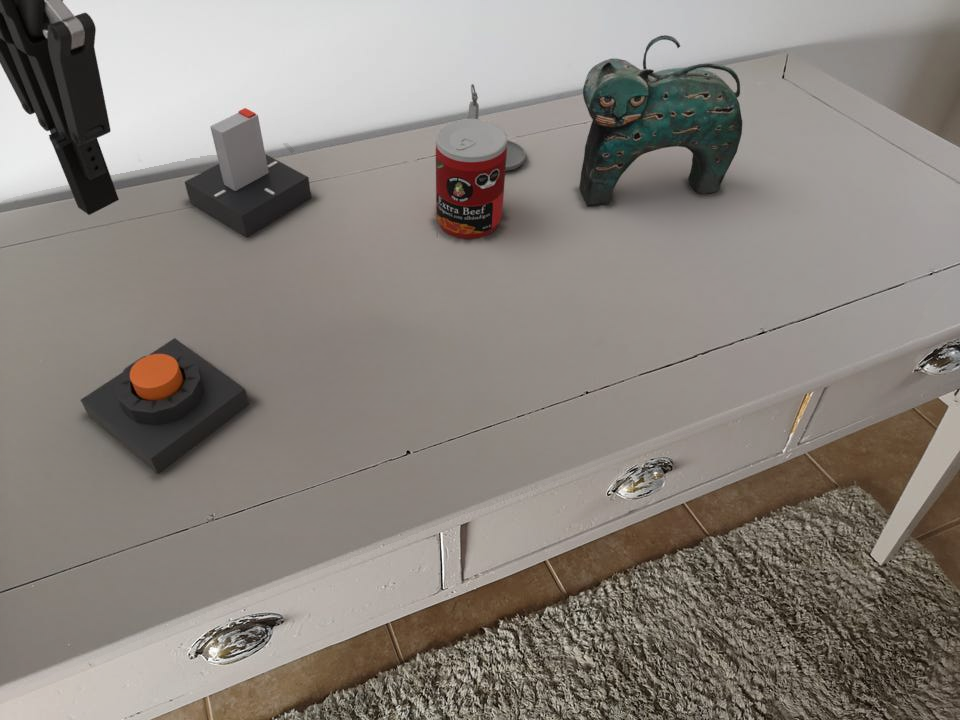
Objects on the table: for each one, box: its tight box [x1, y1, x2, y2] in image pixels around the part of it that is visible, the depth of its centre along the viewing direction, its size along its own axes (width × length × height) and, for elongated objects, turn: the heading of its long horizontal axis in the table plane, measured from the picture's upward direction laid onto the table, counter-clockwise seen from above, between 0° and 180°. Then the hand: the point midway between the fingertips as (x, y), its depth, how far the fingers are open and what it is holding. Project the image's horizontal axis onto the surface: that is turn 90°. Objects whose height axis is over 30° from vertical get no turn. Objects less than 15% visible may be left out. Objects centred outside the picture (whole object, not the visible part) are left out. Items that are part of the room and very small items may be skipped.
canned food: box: [435, 118, 508, 239], centre depth 88 cm, size 8×8×11 cm
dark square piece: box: [80, 337, 250, 475], centre depth 69 cm, size 10×10×4 cm
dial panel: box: [184, 153, 312, 238], centre depth 91 cm, size 10×10×3 cm
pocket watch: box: [467, 83, 526, 172], centre depth 97 cm, size 8×8×10 cm
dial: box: [210, 107, 269, 191], centre depth 87 cm, size 5×2×8 cm, turn 142°
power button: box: [130, 354, 183, 401], centre depth 67 cm, size 4×4×2 cm
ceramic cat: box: [578, 34, 743, 207], centre depth 90 cm, size 20×6×20 cm, turn 101°
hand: (98, 203), depth 62 cm, fingers closed
